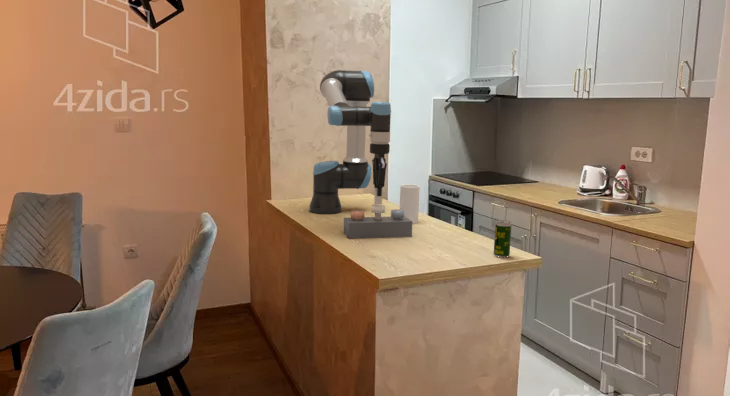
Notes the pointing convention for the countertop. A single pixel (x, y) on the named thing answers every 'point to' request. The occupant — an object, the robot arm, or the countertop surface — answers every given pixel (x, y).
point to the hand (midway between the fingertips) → (378, 204)
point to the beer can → (502, 238)
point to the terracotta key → (357, 215)
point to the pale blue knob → (397, 214)
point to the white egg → (377, 211)
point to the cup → (410, 201)
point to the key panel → (377, 227)
